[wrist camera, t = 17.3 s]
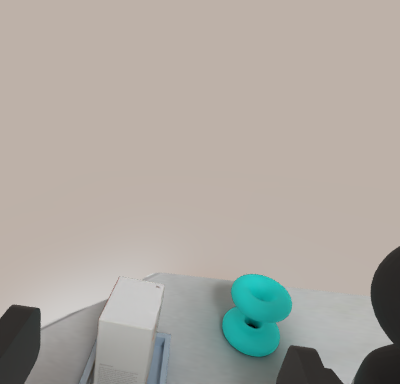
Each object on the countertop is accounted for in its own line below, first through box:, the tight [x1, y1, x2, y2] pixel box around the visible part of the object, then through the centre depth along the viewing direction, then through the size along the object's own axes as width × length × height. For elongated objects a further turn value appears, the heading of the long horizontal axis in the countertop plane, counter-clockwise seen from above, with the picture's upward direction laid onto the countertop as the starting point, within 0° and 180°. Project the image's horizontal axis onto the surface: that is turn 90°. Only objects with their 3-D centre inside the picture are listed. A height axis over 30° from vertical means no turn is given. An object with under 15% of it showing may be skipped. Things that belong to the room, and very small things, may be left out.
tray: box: [79, 333, 171, 384], centre depth 42 cm, size 11×13×3 cm
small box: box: [93, 277, 165, 384], centre depth 40 cm, size 8×6×13 cm
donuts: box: [222, 274, 292, 357], centre depth 52 cm, size 10×10×10 cm
